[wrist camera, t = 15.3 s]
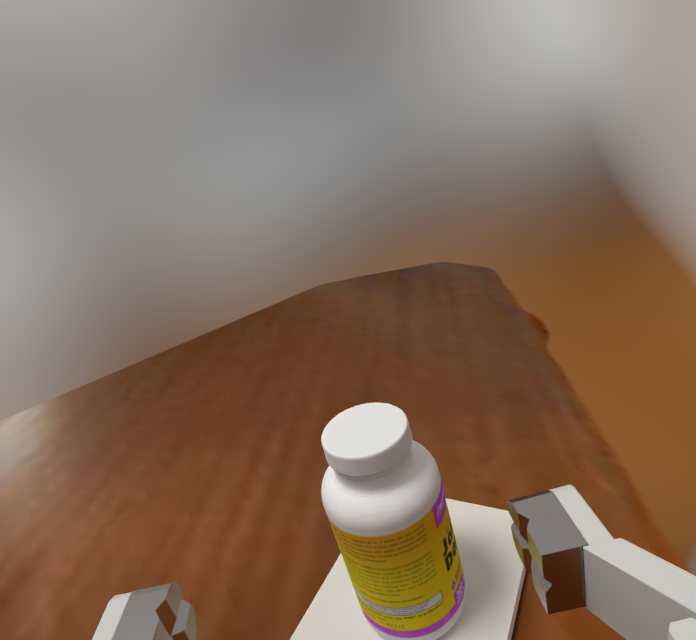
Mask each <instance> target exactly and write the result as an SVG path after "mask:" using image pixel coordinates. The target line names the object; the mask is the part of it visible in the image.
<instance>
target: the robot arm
mask: <svg viewBox="0 0 696 640" xmlns="http://www.w3.org/2000/svg"><path fill="white" fill-rule="evenodd" d="M508 510H509V514H510V516H511V518H512V520H513V521H514V522H513V524H512V525H511V530H512V536H513V540H514V543H515V547H516V550H517V552H518V555H519V557H520V559H521V561H522V564H523V566H524V568H525V569H526V570H528V571H529V572H531V573H532V577H533V584H534V588H535V590H536V592H537V594H538V596H539V598H540V600H541V602H542V604H543V606H544V608H545V609H546V611H547V613H548V614H552V613H557V612H562V611H566V610H571V609H576V608H581V607H586V606H587V609H588V610H589V611H591V612H592V613H593V614H594V615H596V616H597V617H598V618H600V619H601V620H602V621H603V622H605V623H606V624H607V625H609V626H610V627H611V628H612V629H614V630H615V631H616V632H618V633H619V634H620V635H622V636H623V637H624V638H625V639H627V640H696V576H694V575H692V574H690V573H688V572H687V571H685V570H683V569H681V568H679V567H677V566H675V565H673V564H671V563H669V562H667V561H665V560H663V559H661V558H659V557H657V556H655V555H653V554H651V553H649V552H647V551H646V550H644V549H642V548H640V547H638V546H636V545H634V544H632V543H630V542H628V541H626V540H624V539H622V538H618V539H614V538H613V537H612V536H611V534H610V533H609V532H608V530H607V529H606V528H605V526H604V525H603V524H602V522H601V521H600V520H599V519H598V517H597V516H596V515H595V513H594V512H593V511H592V509H591V508H590V507H589V506H588V504H587V503H586V502H585V500H584V499H583V498H582V496H581V495H580V494H579V492H578V491H577V490H576V489H575V487H573V486H572V485H567V486H563V487H559V488H555V489H551V490H549V491H548V490H546V491H542V492H538V493H535V494H531V495H527V496H523V497H519V498H515V499H511V500H508ZM183 593H184V591H183V589H182V588H181V586H180V584H179V583H170V584H165V585H160V586H156V587H151V588H146V589H142V590H137V591H134V592H129V593H125V594H120V595H116V596H114V597H113V598H112V599H111V600H110V601H109V603H108V605H107V607H106V609H105V611H104V614H103V616H102V618H101V620H100V623H99V625H98V627H97V629H96V632H95V634H94V636H93V638H92V640H196V637H197V619H196V615H195V611H194V609H193V607H192V605H191V604H189V603H188V602H186V601H184V600H182V597H183Z"/></svg>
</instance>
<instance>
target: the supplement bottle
mask: <svg viewBox="0 0 696 640" xmlns="http://www.w3.org/2000/svg"><path fill="white" fill-rule="evenodd" d="M321 441H322V446H323V450H324V453H325V456H326V459H327V462H328V464H329V467H328V469H327V470H326V473H325V475H324V478H323V482H322V489H321V494H322V502H323V505H324V508H325V511H326V514H327V516H328V519H329V522H330V524H331V527H332V530H333V532H334V535H335V538H336V540H337V543H338V546H339V549H340V551H341V554H342V557H343V560H344V563H345V565H346V568H347V571H348V574H349V576H350V579H351V582H352V585H353V588H354V590H355V593H356V596H357V599H358V602H359V604H360V607H361V609H362V612H363V614H364V616H365V618H366V620H367V622H368V623H369V625H370V626H371V627H372V628H373V629H374V630H375V631H376V632H377V633H378V634H379V635H381V636H382V637H384V638H385V639H387V640H435V639H437V638H439V637H440V636H442V635H443V634H445V633H446V632H447V631H448V630H449V629H450V628H451V627H452V626H453V625H454V624H455V623H456V621H457V620H458V618H459V616H460V614H461V612H462V610H463V607H464V603H465V597H466V584H465V579H464V574H463V569H462V565H461V560H460V556H459V552H458V548H457V544H456V540H455V536H454V531H453V527H452V523H451V519H450V515H449V511H448V507H447V503H446V499H445V495H444V491H443V486H442V482H441V478H440V474H439V470H438V467H437V464H436V462H435V460H434V458H433V457H432V455H431V454H430V453H429V452H428V450H427V449H426V448H424V447H423V446H422V445H421V444H419V443H417V442H416V441H414V440H412V433H411V430H410V427H409V423H408V420H407V417H406V415H405V413H404V412H403V411H402V410H401V409H399V408H398V407H396V406H394V405H391V404H387V403H367V404H362V405H358V406H355V407H352V408H350V409H347V410H345V411H343V412H341V413H340V414H338V415H337V416H336V417H334V418H333V419H332V420H331V421H330V422H329V423H328V424H327V426H326V427H325V429H324V431H323V433H322V438H321Z"/></svg>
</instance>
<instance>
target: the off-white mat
mask: <svg viewBox="0 0 696 640" xmlns="http://www.w3.org/2000/svg"><path fill="white" fill-rule="evenodd" d="M445 499H446V498H445ZM446 503H447V507H448V511H449V515H450V519H451V523H452V527H453V531H454V536H455V540H456V544H457V548H458V552H459V556H460V560H461V565H462V569H463V574H464V579H465V584H466V597H465V603H464V607H463V610H462V612H461V614H460V616H459V618H458V620H457V621H456V623H455V624H454V625H453V626H452V627H451V628H450V629H449V630H448V631H447V632H446V633H445V634H443V635H442V636H440V637H439V638H437V639H435V640H511V637H512V633H513V628H514V624H515V619H516V614H517V610H518V605H519V600H520V596H521V591H522V586H523V582H524V577H525V572H526V569H525V568H524V566H523V564H522V561H521V559H520V557H519V555H518V552H517V550H516V547H515V543H514V540H513V536H512V530H511V525H512V524H513V522H514V521H513V520H512V518H511V516H510V514H509V511H506V510H501V509H496V508H491V507H486V506H481V505H476V504H471V503H466V502H461V501H456V500H451V499H446ZM290 640H387V639H385V638H384V637H382V636H381V635H379V634H378V633H377V632H376V631H375V630H374V629H373V628H372V627H371V626H370V625H369V623H368V622H367V620H366V618H365V616H364V614H363V612H362V609H361V607H360V604H359V602H358V599H357V596H356V593H355V590H354V588H353V585H352V582H351V579H350V576H349V574H348V571H347V568H346V565H345V563H344V560H343V557H342V554H340V556H339V557H338V559H337V561H336V563H335V564H334V566H333V568H332V569H331V571H330V573H329V574H328V576H327V578H326V579H325V581H324V583H323V585H322V586H321V588H320V590H319V591H318V593H317V595H316V596H315V598H314V600H313V601H312V603H311V605H310V607H309V608H308V610H307V612H306V613H305V615H304V617H303V618H302V620H301V622H300V623H299V625H298V627H297V629H296V630H295V632H294V634H293V635H292V637H291V639H290Z"/></svg>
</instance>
